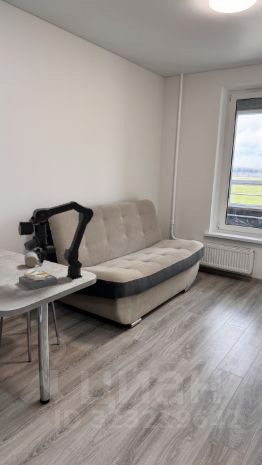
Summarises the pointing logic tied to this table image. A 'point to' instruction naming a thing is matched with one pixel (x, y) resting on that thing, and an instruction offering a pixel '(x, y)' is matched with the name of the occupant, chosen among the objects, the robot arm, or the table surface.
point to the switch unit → (38, 281)
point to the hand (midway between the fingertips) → (41, 263)
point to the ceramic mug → (32, 259)
